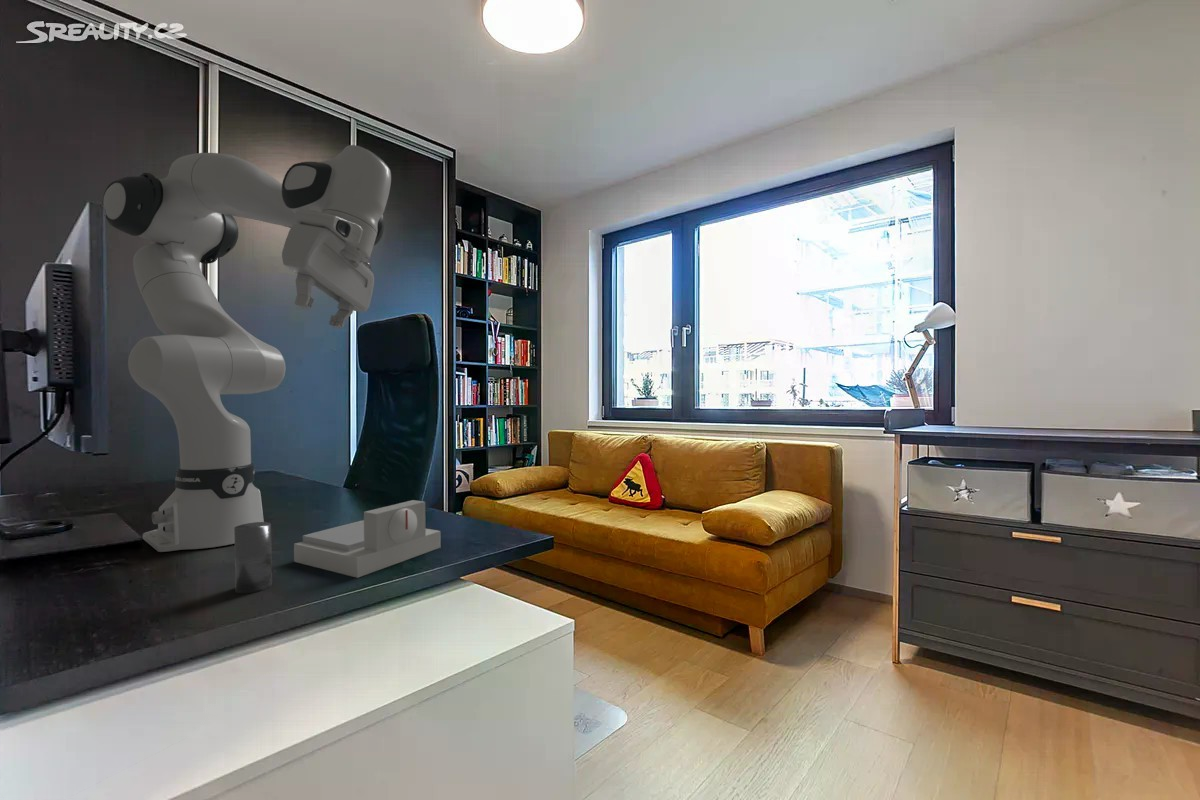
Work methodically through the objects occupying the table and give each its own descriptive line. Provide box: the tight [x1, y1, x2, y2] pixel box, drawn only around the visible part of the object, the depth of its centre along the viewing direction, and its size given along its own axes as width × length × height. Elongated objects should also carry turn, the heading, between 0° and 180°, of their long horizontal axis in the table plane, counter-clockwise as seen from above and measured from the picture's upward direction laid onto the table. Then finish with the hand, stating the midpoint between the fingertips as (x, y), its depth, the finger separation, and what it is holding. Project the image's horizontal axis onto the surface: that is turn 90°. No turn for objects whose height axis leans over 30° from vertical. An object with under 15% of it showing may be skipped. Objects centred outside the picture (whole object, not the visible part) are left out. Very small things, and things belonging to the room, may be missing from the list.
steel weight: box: [234, 521, 273, 595], centre depth 75 cm, size 4×4×9 cm
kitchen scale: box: [293, 499, 442, 578], centre depth 90 cm, size 16×17×9 cm
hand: (319, 317), depth 84 cm, fingers open, 8 cm apart
